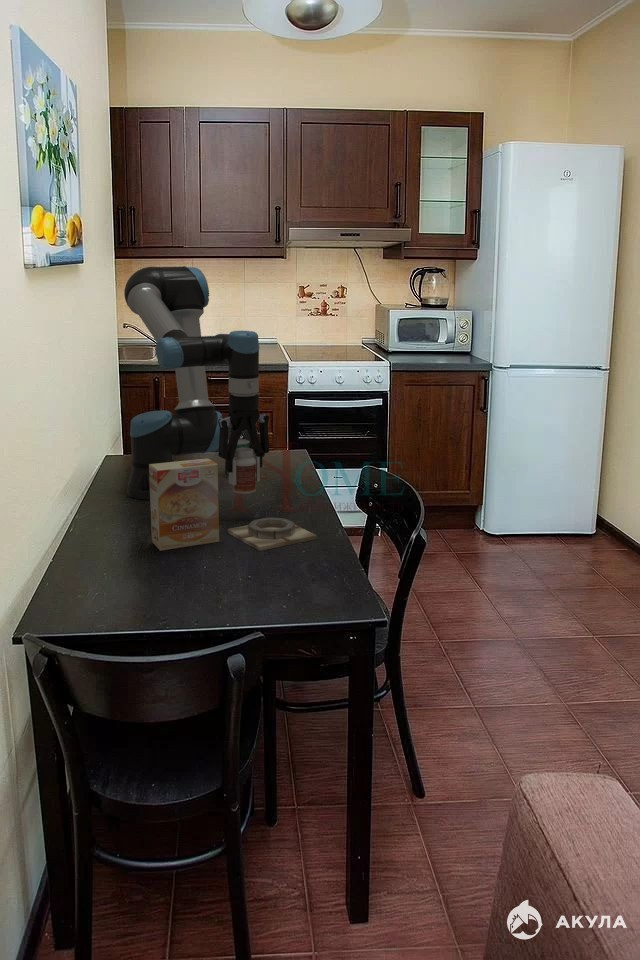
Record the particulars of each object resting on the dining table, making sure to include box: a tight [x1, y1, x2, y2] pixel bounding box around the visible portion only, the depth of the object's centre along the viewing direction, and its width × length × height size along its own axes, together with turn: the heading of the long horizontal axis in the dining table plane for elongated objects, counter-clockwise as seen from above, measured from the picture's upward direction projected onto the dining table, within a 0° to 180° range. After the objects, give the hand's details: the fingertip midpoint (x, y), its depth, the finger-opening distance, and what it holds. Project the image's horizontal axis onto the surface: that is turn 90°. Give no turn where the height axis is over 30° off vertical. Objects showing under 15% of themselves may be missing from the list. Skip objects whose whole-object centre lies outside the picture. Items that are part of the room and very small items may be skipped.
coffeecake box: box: [149, 457, 220, 551], centre depth 201 cm, size 15×7×20 cm, turn 117°
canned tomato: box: [224, 438, 251, 479], centre depth 264 cm, size 8×8×11 cm
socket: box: [227, 516, 318, 552], centre depth 208 cm, size 16×16×3 cm
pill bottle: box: [231, 447, 257, 495], centre depth 218 cm, size 6×6×11 cm
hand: (244, 481), depth 219 cm, fingers closed on pill bottle, 6 cm apart
